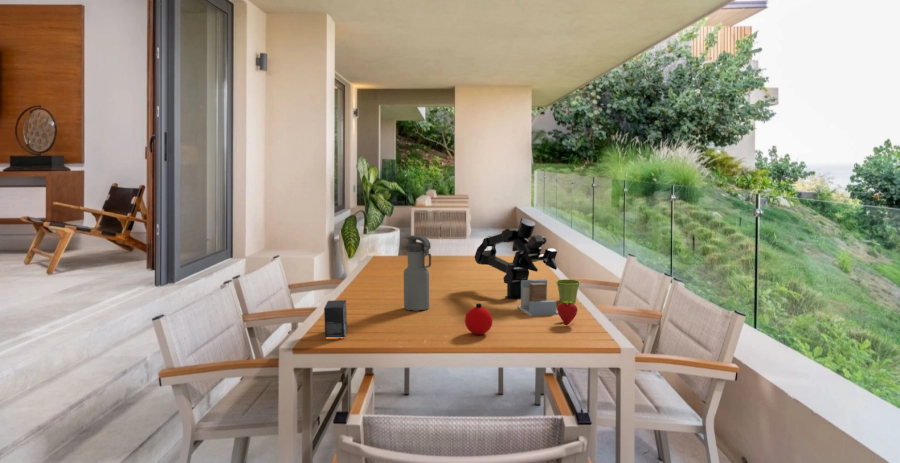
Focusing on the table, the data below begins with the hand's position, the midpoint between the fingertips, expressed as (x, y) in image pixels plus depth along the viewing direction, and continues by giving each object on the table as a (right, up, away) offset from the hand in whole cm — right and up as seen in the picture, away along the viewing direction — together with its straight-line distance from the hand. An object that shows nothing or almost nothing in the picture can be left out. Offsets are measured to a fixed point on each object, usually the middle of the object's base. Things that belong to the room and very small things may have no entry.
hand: (546, 269), depth 236 cm
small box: (-74, -19, -36) cm, 85 cm away
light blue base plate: (-4, -16, -7) cm, 18 cm away
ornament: (-28, -19, -36) cm, 49 cm away
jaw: (-5, -14, -3) cm, 15 cm away
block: (-5, -15, -7) cm, 17 cm away
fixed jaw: (-3, -16, -12) cm, 21 cm away
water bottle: (-50, -15, 0) cm, 52 cm away
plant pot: (+10, -14, +9) cm, 19 cm away
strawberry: (+3, -18, -25) cm, 31 cm away
